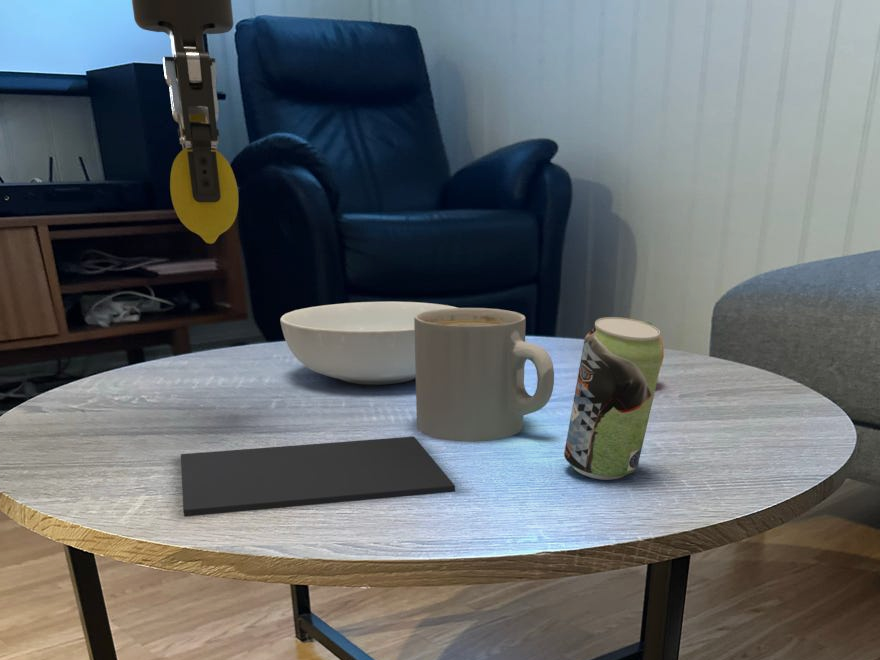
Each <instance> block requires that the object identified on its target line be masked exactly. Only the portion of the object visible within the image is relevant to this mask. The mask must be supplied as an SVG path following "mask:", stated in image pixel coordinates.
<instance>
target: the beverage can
mask: <svg viewBox="0 0 880 660" xmlns="http://www.w3.org/2000/svg"><path fill="white" fill-rule="evenodd" d="M645 322H646V321H641V320H637V319H632V318H627V317H620V316H619V317H618V316H617V317H616V316H608V317H600V318H597V319H596V320H595V321H594V327H593V328H592V329H591V330H590V331H589V332H588V333H587V334H586V336H585V337H584V341H583V345H582V350H581V357H580V362H579V368H578V372H577V373H578V374H577V378H576V383H575V384H576V385H575V390H574V396H573V402H572V407H571V414H570V418H569V424H568V430H567V434H566V435H567V436H566V441H565V447H564V452H563V455H564V456H563V457H564V459H565V460H566V462H568V463H569V465H571V466H572V468H573V469H574V471H576V472H578V473H579V474H581V475H583V476H585V477H589V478H591V479H595V480H603V481H609V480H617V479H620V478H624V477H625V476H627V475H631V474H632V473H634V472H636V471H637V469H638V467H639V462H640V460H641V459H640V458H641V454H642V449H643V446H644V442H645V441H644V440H645V436H646V432H647V428H648V423H649V418H650V414H651V410H652V406H653V403H654V402H653V401H654V396H655V392H656V388H657V384H658V380H659V375H660V370H661V367H662V365H661V362H662V358H663V359H664V357H663V350H664V345H663V343H662V344H661V341H662V340H661V341H660V339H661V338H660V339H659V337H660V336H661V330H659V328H658V327H656V326H654V325H653V324H652V325H653V326H652V325H650V324H648V323H645ZM662 345H663V346H662ZM662 363H663V362H662Z"/></svg>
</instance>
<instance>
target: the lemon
mask: <svg viewBox="0 0 880 660" xmlns="http://www.w3.org/2000/svg"><path fill="white" fill-rule="evenodd" d="M187 151H192V150H186V148H185V149H183V148H182V150H181V151H180V152H179V153H178V154H177V155H176V157H175V158H174V160H173V162H172V166H171V168H170V169H171V171H170V179H169V189H170V197H171V202H172V206H173V209H174V212H175V213H176V216H177V218H178V219H179V221H180V222H181V223H182V224H183V225H184V227H185V228H187V229H188V230H189V231H191V232H192V233H193V234H194V233H195V234H197V235H198V236H199V237H200V238H201V239H202V240H203V241H204V242H205V243H206V244H211V245H212V244H215V242H216V241H217V239H218V238H219V236H220V235H222V234H224V233H225V232H227V231H228V230H229V229H230V228H231V227H232V225H233V224H234V222H235V221H236V218H237V215H238V213H239V212H238V211H239V203H240V202H239V190H238V189H239V188H238V183H237V180H236V177H235V174H234V171H233V168H232V167H231V164H230V163H229V161H228V160H227V158H226V156H224V155H223V154H222V153H221V152H220V151H218V149H217V150H211V152H216V158H217V167H218V177H219V186H220V195H221V197H220V200H219V201H218V202H197V201H195V200H194V198H193V195H192V187H191V179H190V171H189V163H188V154H187Z"/></svg>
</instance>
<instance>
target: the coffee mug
mask: <svg viewBox="0 0 880 660" xmlns="http://www.w3.org/2000/svg"><path fill="white" fill-rule="evenodd" d="M526 319H527V318H526V316H525V315H524V314H522V313H520V312H517V311H511V310H508V309H507V310H506V309H499V308H487V307H457V308H449V309H438V310H430V311H425V312H421V313H419V314H417V315H416V316H415V317H414V330H415V370H416V378H415V396H416V397H415V405H416V429H417V431H418V432H419V433H421V434H423V435H425V436H428V437H431V438H435V439H438V440H444V441H452V442H487V441H489V442H490V441H495V440H501V439H506V438H510V437H513V436H516V435H518V434H519V433H520V432H521V431H522V430H523V428H524V416H526V415H530V414H532V413H536V412H538V411H540V410H541V409H543V408H544V407H545V406H547V404H548V403H549V401H550V399H551V397H552V395H553V392H554V391H553V390H554V385H555V368H554V363H553V360H552V357H551V356H550V354H549V352H548V351H547V350H546V349H545V348H544V347H542V346H540V345H538V344H535V343H532V342H527V341H526V329H527V328H526V325H527V324H526V323H527V321H526ZM527 361H531V363H532V364H533V365H534V367H535V370H536V378H537V380H536V381H537V383H536V388H535V392H534V394H533V395H530V394H529V393H528V392H527V390H526V387H525V365H526V362H527Z"/></svg>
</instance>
